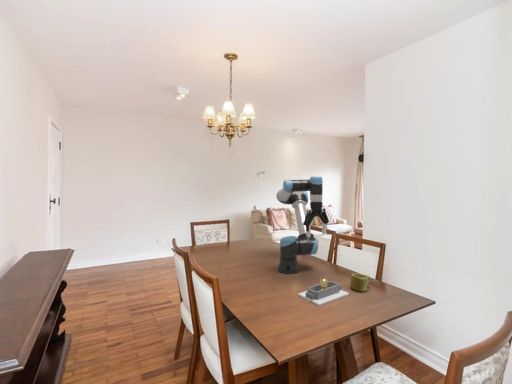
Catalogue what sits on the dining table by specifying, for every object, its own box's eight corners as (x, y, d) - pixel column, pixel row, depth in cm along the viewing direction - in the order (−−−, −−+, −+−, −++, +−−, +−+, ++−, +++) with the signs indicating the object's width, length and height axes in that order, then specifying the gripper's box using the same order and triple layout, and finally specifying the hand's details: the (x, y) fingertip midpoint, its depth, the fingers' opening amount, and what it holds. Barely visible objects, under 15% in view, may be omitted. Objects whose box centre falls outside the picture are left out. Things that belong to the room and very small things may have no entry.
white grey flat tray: (298, 295, 153) (298, 286, 153) (327, 285, 166) (327, 277, 166) (319, 306, 140) (319, 296, 140) (349, 295, 153) (349, 286, 152)
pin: (318, 293, 153) (318, 278, 153) (323, 291, 156) (323, 277, 155) (324, 295, 150) (324, 281, 150) (329, 293, 152) (329, 279, 152)
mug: (357, 291, 153) (357, 272, 156) (346, 290, 162) (346, 272, 165) (376, 293, 155) (376, 274, 158) (365, 292, 165) (365, 274, 168)
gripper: (305, 202, 163) (305, 238, 164) (334, 200, 176) (334, 233, 177) (297, 202, 169) (297, 236, 170) (325, 199, 183) (325, 231, 184)
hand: (316, 235), depth 174 cm, fingers open, 13 cm apart
